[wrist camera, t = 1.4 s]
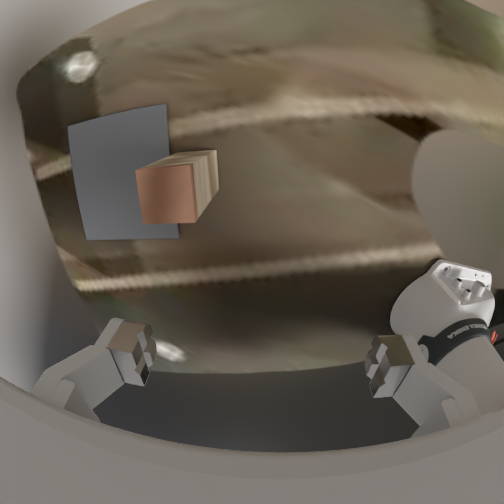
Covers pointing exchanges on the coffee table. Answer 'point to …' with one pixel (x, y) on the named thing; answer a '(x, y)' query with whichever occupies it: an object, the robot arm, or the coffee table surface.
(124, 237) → the rubber mat
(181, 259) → the coffee table surface
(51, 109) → the coffee table surface
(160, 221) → the birch block
